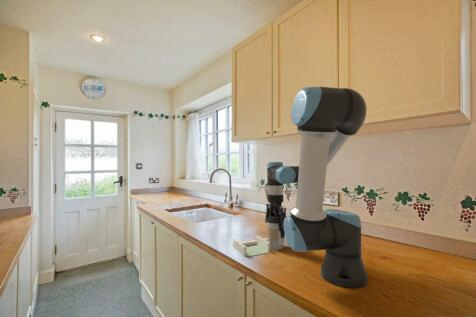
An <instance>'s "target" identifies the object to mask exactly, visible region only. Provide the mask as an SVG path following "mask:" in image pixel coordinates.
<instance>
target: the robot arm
mask: <svg viewBox="0 0 476 317" xmlns="http://www.w3.org/2000/svg"><path fill="white" fill-rule="evenodd" d="M290 112H291V113H290V117H291V122H292V123H293V125H294V126H296V127H297V129H296V131H297V132H298V133H299V135H300V137H301V139H300V150H299V151H300V153H299V163H298V164H299V165H297V166H296V165H291V166H290V165H288V166H286V165H284V164H283V162H282V161H269V162H268V163H267V164H266V166H267V168H266V170H267V171H266V173H267V174H266V175H267V176H266V179H267V185H266V186H267V189H266V191H267V202H268V203H266V204H265V207H266V208H265V209H266V210H265V221H264V222H265V223H266V224H267V221H266V220H267V218H268V217H269V216H274V215H275V216H276V217H277V220H278V221H279V222H278V223H279V224H278V225H279V230H278V234H279V245H282V244H283V245H284V237H285V236H286V240H287V242H288V244H289V246H290V247H291V250H292V251H294V252H298V253H299V252H303V253H306V252H313V251H325V254H324V257H323V259H322V260H323V261H322V263H321V266H320V276H321V277H322V278H323V279H324V280H325V281H327V282H328V283H330V284H333V285H336V286H340V287H344V288H350V289H352V288H353V289H355V288H356V289H357V288H362V287H364V286H366V285H367V284H368V282H369V279H368V273H367V271H366V267H365V264H364V261H363V257H362V228H363V227H362V222H361V217H360V215H358V214H356V213H354V212H350V211H346V210H341V209H333V208H328V209H325V211H324V207H323V205H324V197H325V188H326V187H325V186H326V178H327V168H328V165H329V164H330V163H331V161H332V160H333V159H334V158H335V156H336V155H337V154H338V152H339V151H340V150H341V148H343V146H344V145H345V143H346V142H347V141H348V139H349V138H350V137H351V136H355V135H356V134H357V132H358V131H359V130H360V129H361V128H362V126H363V124H364V123H365V120H366V117H367V103H366V100H365V99H364V97H363V95H361V93H359V92H358V91H357V90H354V89H352V88H347V87H344V88H343V87H342V88H341V87H340V88H339V87H327V86H307V87H306V86H305V87H303V88H302V89H300V90H299V91H298V93H297V94H296V96H295V97H294V99H293V103H292V106H291V111H290ZM290 184H297V188H296V189H297V190H296V200H295V201H296V202H295V205H294V206H293V207H292V208H291V209H290V215H287V208H286V207H283V205H282V204H283V203H284V185H290ZM281 227H282V228H281Z"/></svg>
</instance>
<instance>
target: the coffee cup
mask: <svg viewBox="0 0 476 317" xmlns="http://www.w3.org/2000/svg"><path fill="white" fill-rule="evenodd" d="M266 221H267V223H266V230H267V233H266V234H267V238H268V240H269V243H270V250H275V251H280V250H283V249H284V244H282V245H279V234H278V230H279V225H278V224H279V223H278V222H279V221H278V220H277V217H276V216H275V215H274V216H269V217H268V218H267V220H266ZM281 228H282V227H281Z"/></svg>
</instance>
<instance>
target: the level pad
mask: <svg viewBox="0 0 476 317" xmlns="http://www.w3.org/2000/svg"><path fill="white" fill-rule="evenodd" d="M269 253H270V252H268V251H266V250H265V249H263V248H262V247H260V246H259V245H257V244H256V245H253V246H252V245H250V246H246V256H245V257H253V256H258V255H265V254H269Z"/></svg>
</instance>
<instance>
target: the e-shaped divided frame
mask: <svg viewBox="0 0 476 317" xmlns="http://www.w3.org/2000/svg"><path fill="white" fill-rule="evenodd" d="M255 237H256V238H255V239H253V240H247V241H242V242H240V241H239V240H238V239H235V238H234V239H233V243H232V247H233V248H234V249H235V250H236V251H237V252H238V253H240V254H241V255H242V256H243V257H247V256H246V247H249V246H252V245H253V246H255V245H256V246H257V245H259V246H260V247H262V248H263V249H265V250H266V251H268V252H269V253H270V252H271V249H270V243H269V240H268V237H267V238H266V237H265V238H263V237H261V236H260V235H256V236H255ZM283 246H286V247H287V248H291V247H290V246H289V244H288V242H287V240H286V236H285V237H284V244H283Z"/></svg>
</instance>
